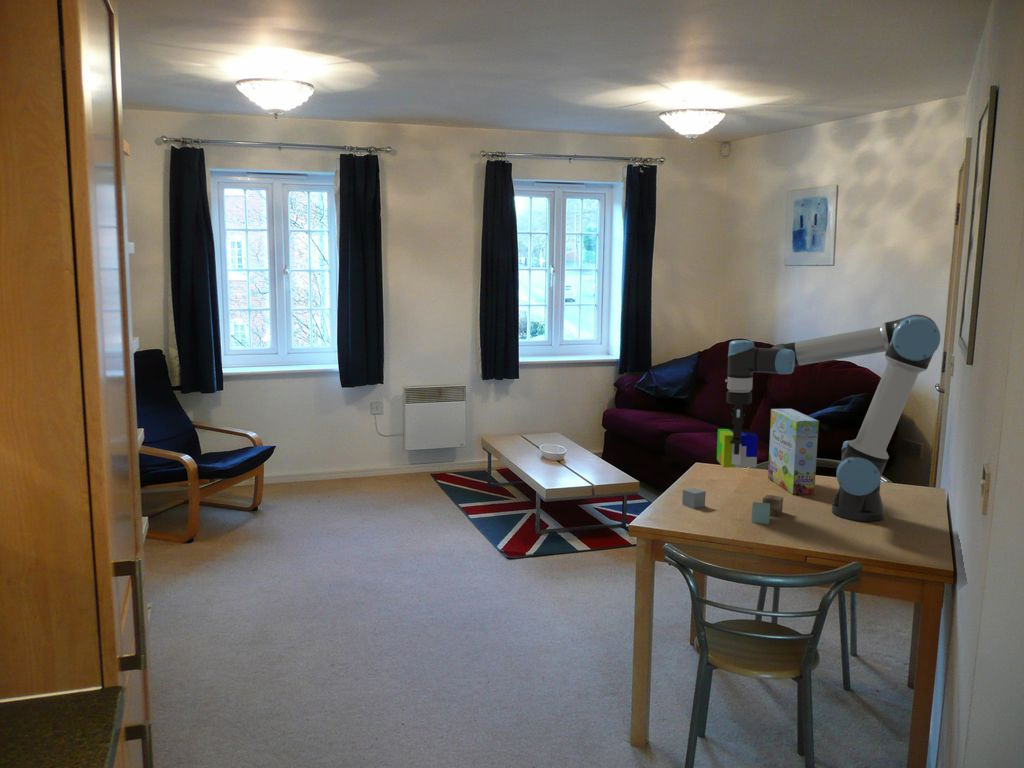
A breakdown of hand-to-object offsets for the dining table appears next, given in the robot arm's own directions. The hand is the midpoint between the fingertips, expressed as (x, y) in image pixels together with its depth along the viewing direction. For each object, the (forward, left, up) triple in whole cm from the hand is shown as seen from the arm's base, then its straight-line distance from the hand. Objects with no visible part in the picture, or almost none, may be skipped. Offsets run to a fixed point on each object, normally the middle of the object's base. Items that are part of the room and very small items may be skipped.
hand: (736, 460), depth 265 cm
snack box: (+1, -39, -16) cm, 42 cm away
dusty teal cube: (-12, +4, -16) cm, 20 cm away
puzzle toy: (0, 0, -1) cm, 1 cm away
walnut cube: (-10, -6, -16) cm, 20 cm away
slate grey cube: (+11, +6, -16) cm, 20 cm away
